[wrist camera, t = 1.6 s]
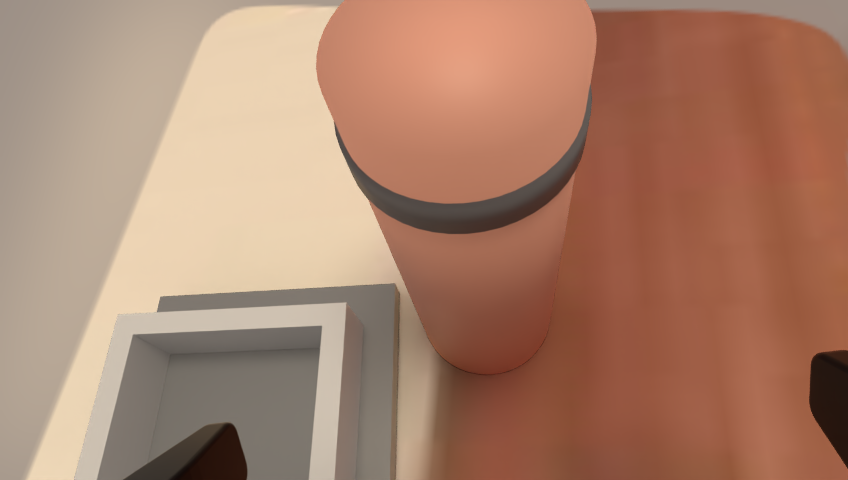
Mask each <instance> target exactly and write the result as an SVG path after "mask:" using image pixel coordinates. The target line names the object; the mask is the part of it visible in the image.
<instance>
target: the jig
mask: <svg viewBox="0 0 848 480" xmlns="http://www.w3.org/2000/svg"><path fill="white" fill-rule="evenodd" d="M399 295H400V293H399V291H398V289H397V287H396V284H378V285H360V286H342V287H324V288H306V289H289V290H271V291H253V292H235V293H217V294H199V295H181V296H163V297H160V301H159V305H158V310H157V312H154V313H135V314H118V316H117V320H116V323H115V327H114V331H113V335H112V338H111V342H110V346H109V350H108V353H107V357H106V361H105V365H104V368H103V372H102V376H101V380H100V383H99V387H98V391H97V395H96V398H95V402H94V406H93V410H92V413H91V417H90V421H89V425H88V428H87V432H86V436H85V440H84V443H83V447H82V451H81V455H80V458H79V462H78V466H77V470H76V474H75V477H74V480H123V479H124V478H126V477H127V476H129V475H131V474H132V473H134V472H135V471H137V470H138V469H140V468H141V467H143V466H144V465H146V464H147V463H149V462H150V461H152V460H153V459H155V458H156V457H158V456H159V455H161V454H162V453H164V452H165V451H167V450H168V449H170V448H172V447H173V446H175V445H176V444H178V443H179V442H181V441H182V440H184V439H185V438H187V437H188V436H190V435H191V434H193V433H194V432H196V431H197V430H199V429H200V428H202V427H203V426H205V425H208V424H213V423H221V422H231V423H232V424H234V426H235V427H236V429H237V432H238V435H239V439H240V442H241V445H242V449H243V452H244V455H245V459H246V462H247V468H248V475H247V480H395V477H396V431H397V386H398V340H399Z"/></svg>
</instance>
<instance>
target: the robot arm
mask: <svg viewBox="0 0 848 480" xmlns="http://www.w3.org/2000/svg"><path fill="white" fill-rule="evenodd" d="M809 403H810V408H811V412H812V414H813V416H814V418H815V420H816V421H817V423H818V424H819V426H820V427H821V429H822V430H823V432H824V433H825V435H826V436H827V438H828V439H829V441H830V443H831V444H832V446H833V447H834V449H835V450H836V452H837V453H838V455H839V456H840V458H841V459H842V461H843V462H844V464H845V465H846V467H847V468H848V351H847V350H838V351H830V352H822V353H817V354H816V355H815V356H814V357H813V359H812V362H811V374H810V396H809ZM247 475H248V468H247V462H246V459H245V455H244V452H243V449H242V445H241V442H240V439H239V435H238V432H237V429H236V427H235V426H234V424H232V423H231V422H221V423H213V424H208V425H205V426H203V427H202V428H200V429H199V430H197V431H196V432H194V433H193V434H191V435H190V436H188V437H187V438H185V439H184V440H182V441H181V442H179V443H178V444H176V445H175V446H173V447H172V448H170V449H168V450H167V451H165V452H164V453H162V454H161V455H159V456H158V457H156V458H155V459H153V460H152V461H150V462H149V463H147V464H146V465H144V466H143V467H141V468H140V469H138V470H137V471H135V472H134V473H132V474H131V475H129V476H127V477H126V478H124V479H123V480H247Z"/></svg>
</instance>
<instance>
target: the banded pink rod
mask: <svg viewBox="0 0 848 480" xmlns="http://www.w3.org/2000/svg"><path fill="white" fill-rule="evenodd" d="M596 40H597V37H596V28H595V23H594V19H593V16H592V12H591V10H590V8H589V6H588V4H587V3H586V0H345V1H344V2H343V3H342V4H341V5H340V6H339V7H338V8H337V10H336V11H335V13H334V14H333V15H332V17H331V18H330V20H329V22H328V24H327V25H326V27H325V29H324V31H323V34H322V37H321V39H320V42H319V47H318V52H317V62H316V70H317V77H318V82H319V85H320V88H321V91H322V94H323V97H324V99H325V101H326V103H327V106H328V108H329V110H330V113H331V115H332V117H333V120H334V125H335V132H336V137H337V140H338V143H339V146H340V148H341V150H342V153H343V155H344V157H345V159H346V162H347V164H348V166H349V168H350V171H351V173H352V175H353V177H354V179H355V181H356V183H357V185H358V186H359V188H360V189H361V191H362V192H363V193H364V195H365V196H366V197H367V198H368V200H369V202H370V205H371V207H372V209H373V212H374V214H375V216H376V219H377V221H378V223H379V225H380V228H381V230H382V232H383V235H384V237H385V239H386V242H387V244H388V246H389V248H390V251H391V253H392V255H393V258H394V260H395V262H396V265H397V267H398V269H399V271H400V274H401V276H402V278H403V281H404V283H405V285H406V288H407V290H408V292H409V294H410V297H411V299H412V301H413V304H414V306H415V308H416V311H417V313H418V315H419V317H420V320H421V322H422V324H423V327H424V329H425V331H426V334H427V336H428V338H429V340H430V342H431V344H432V345H433V347H434V348H435V350H436V351H437V352H438V353H439V354H440V355H441V357H442V358H444V359H445V360H446V361H447V362H449V363H450V364H452V365H453V366H455V367H457V368H459V369H461V370H464V371H467V372H470V373H475V374H484V375H491V374H499V373H503V372H507V371H510V370H512V369H515V368H517V367H519V366H520V365H522V364H524V363H525V362H526V361H528V360H529V359H530V358H531V357H532V356H533V355H534V354H535V353H536V352H537V351H538V349H539V348H540V347H541V345H542V343H543V342H544V340H545V337H546V335H547V332H548V328H549V324H550V318H551V312H552V306H553V300H554V295H555V289H556V283H557V277H558V271H559V265H560V259H561V253H562V247H563V241H564V235H565V230H566V224H567V218H568V212H569V206H570V200H571V194H572V188H573V182H574V176H575V171H576V169H577V166H578V164H579V162H580V160H581V157H582V154H583V150H584V146H585V141H586V136H587V130H588V125H589V119H590V114H591V104H592V93H591V84H590V82H591V76H592V70H593V64H594V58H595V52H596Z"/></svg>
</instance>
